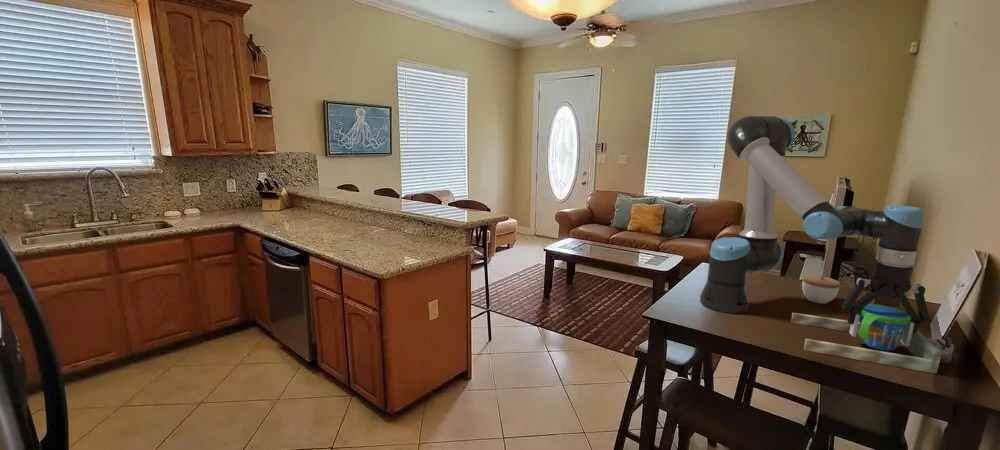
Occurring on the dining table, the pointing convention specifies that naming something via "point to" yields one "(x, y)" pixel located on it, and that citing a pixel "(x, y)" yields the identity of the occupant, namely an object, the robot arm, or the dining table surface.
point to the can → (887, 302)
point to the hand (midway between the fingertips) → (878, 338)
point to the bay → (919, 347)
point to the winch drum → (944, 348)
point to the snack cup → (882, 326)
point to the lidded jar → (819, 288)
